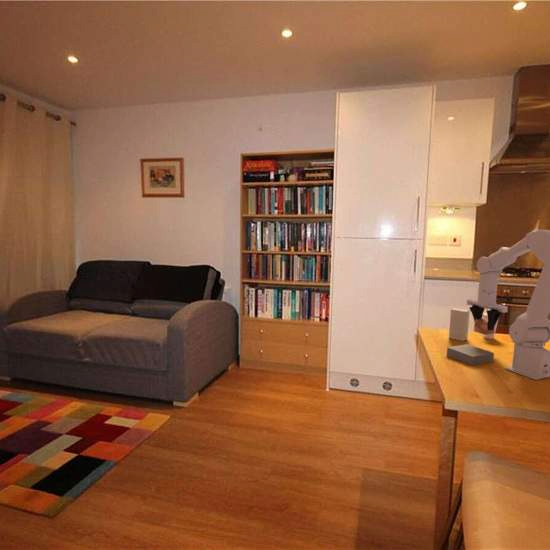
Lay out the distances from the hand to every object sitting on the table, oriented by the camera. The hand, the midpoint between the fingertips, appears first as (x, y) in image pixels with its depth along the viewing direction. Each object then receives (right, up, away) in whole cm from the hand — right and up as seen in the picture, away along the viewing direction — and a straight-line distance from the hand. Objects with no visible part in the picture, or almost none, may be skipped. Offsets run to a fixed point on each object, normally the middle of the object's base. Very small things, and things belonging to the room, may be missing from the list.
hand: (484, 328), depth 134 cm
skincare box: (-2, -7, +16) cm, 17 cm away
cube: (0, -2, 0) cm, 2 cm away
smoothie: (+12, -7, +19) cm, 23 cm away
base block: (-9, -9, -7) cm, 15 cm away
